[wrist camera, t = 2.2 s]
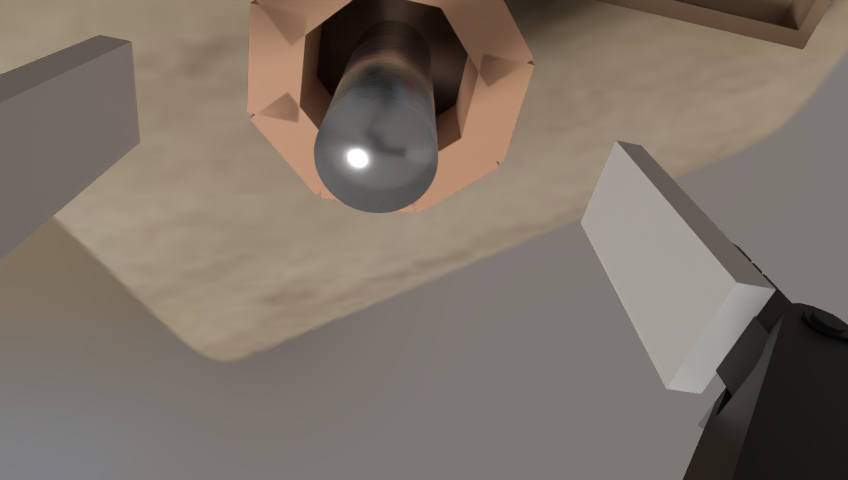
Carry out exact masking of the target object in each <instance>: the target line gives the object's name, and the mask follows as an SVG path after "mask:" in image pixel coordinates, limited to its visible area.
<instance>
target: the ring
mask: <svg viewBox="0 0 848 480" xmlns="http://www.w3.org/2000/svg"><path fill="white" fill-rule="evenodd" d="M351 1H352V0H254V1H253V2H251V3H250V36H249V74H248V111H247V113H250V114H253V115H252V117H251V118H250V120H251V121H252V122H253V123H254V124H255V126H256V127H257V128H258V129H259V130H260V131H261V132H262V134H263V135H264V136H265V137H266V138H267V139H268V140H269V142H270V143H271V144H272V145H273V146H274V147H275V149H276V150H277V151H278V152H279V153H280V154H281V155H282V157H283V158H284V159H285V160H286V161H287V162H288V163H289V165H290V166H291V167H292V168H293V169H294V170H295V172H296V173H297V174H298V175H299V176H300V177H301V178H302V180H303V181H304V182H305V183H306V184H307V185H308V186H309V188H310V189H311V190H312V191H313V192H314V193H315V195H317V194H318V193H320V192H321V191H322V192H321V198H325V199H331V200H336V201H340V200H338V199H337V198H336V197H335V196H333V195H332V194H331V193H330V192H329V190H328V189H327V188H326V187H325V185H324V184H323V182H322V181H321V179H320V177H319V175H318V172H317V170H316V166H315V161H314V145H315V140H316V137H317V134H318V131H319V129H320V127H321V124H322V122H323V120H324V117H325V115H326V113H327V110H328V108H329V106H330V103H331V101H332V99H333V97H332V96H331V95H330V93H329V92H328V91H327V89H326V88H325V87H324V85H323V84H322V83H321V82H320V80H319V79H318V78H317V67H318V57H319V47H320V37H321V26H322V22H324V21H325V20H326V19H328V18H329V17H330V16H332V15H333V14H334V13H336V12H337V11H338V10H340V9H341V8H343V7H344V6H345V5H347V4H348V3H349V2H351ZM409 1H414V2H418V3H423V4H427V5H431V6H436V7H440V8H441V9H442V11H443V12H444V14H445V16H446V17H447V19H448V21H449V22H450V24H451V26H452V28H453V29H454V31H455V33H456V34H457V36H458V38H459V39H460V41H461V43H462V45H463V46H464V48H465V50H466V51H467V53H468V57H467V61H466V65H465V69H464V73H463V77H462V81H461V85H460V89H459V93H458V97H457V101H456V105H455V106H453V107H451V108H450V109H448V110H447V111H445V112H443V113H442V114H440V115H439V116H437V117H435V120H436V133H437V146H438V166H437V172H436V175H435V178H434V180H433V182H432V184H431V186H430V187H429V188H428V190H427V191H426V192H425V193H424V195H423V196H422V197H420V198H419V199H418V200H417V201H415V202H414V203H412V204H411V205H409V206H407V207H405V208H403V209H400V210H397V211H398V212H404V213H410V214H413V212H414V208H415V209H416V211H417V212H418V213H420V212H422V211H423V210H425V209H427V208H429V207H430V206H432V205H434V204H436V203H437V202H439V201H441V200H443V199H444V198H446V197H448V196H450V195H451V194H453V193H455V192H457V191H458V190H460V189H462V188H464V187H465V186H467V185H469V184H471V183H472V182H474V181H476V180H478V179H479V178H481V177H483V176H485V175H486V174H488V173H490V172H492V171H493V170H495V169H497V168H499V163H498V162H504V159H505V156H506V153H507V150H508V146H509V143H510V140H511V137H512V134H513V131H514V128H515V125H516V121H517V118H518V115H519V112H520V109H521V106H522V103H523V100H524V96H525V93H526V90H527V87H528V84H529V81H530V78H531V75H532V71H533V68H534V64H533V62H532V61H531V60H532V59H534V57H533V55H532V54H531V52H530V50H529V48H528V46H527V44H526V42H525V40H524V38H523V36H522V34H521V32H520V31H519V29H518V27H517V25H516V23H515V21H514V19H513V17H512V15H511V13H510V11H509V9H508V8H507V6H506V4H505V2H504V0H409Z"/></svg>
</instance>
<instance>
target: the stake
mask: <svg viewBox="0 0 848 480" xmlns="http://www.w3.org/2000/svg"><path fill="white" fill-rule="evenodd" d="M467 57H468V53H467V51H466V50H465V48H464V46H463V45H462V43H461V41H460V39H459V38H458V36H457V34H456V33H455V31H454V29H453V28H452V26H451V24H450V22H449V21H448V19H447V17H446V16H445V14H444V12H443V11H442V9H441V8H440V7H436V6H431V5H427V4H423V3H418V2H414V1H409V0H352V1H351V2H349V3H348V4H347V5H345V6H344V7H343V8H341V9H340V10H338V11H337V12H336V13H334V14H333V15H332V16H330V17H329V18H328V19H326V20H325V21H324V22H322V26H321V37H320V47H319V57H318V67H317V78H318V79H319V80H320V82H321V83H322V84H323V85H324V87H325V88H326V89H327V91H328V92H329V93H330V95H331V96H332V97H333V99H332V101H331V103H330V106H329V108H328V110H327V113H326V115H325V117H324V120H323V122H322V124H321V127H320V129H319V131H318V134H317V137H316V140H315V145H314V161H315V166H316V170H317V172H318V175H319V177H320V179H321V181H322V182H323V184H324V185H325V187H326V188H327V189H328V190H329V192H330V193H331V194H332V195H333V196H335V197H336V198H337V199H338V200H340V201H341V202H343V203H344V204H346V205H348V206H350V207H352V208H355V209H358V210H361V211H365V212H372V213H386V212H392V211H397V210H400V209H403V208H405V207H407V206H409V205H411V204H412V203H414V202H415V201H417V200H418V199H419V198H420V197H422V196H423V195H424V193H425V192H426V191H427V190H428V188H429V187H430V186H431V184H432V182H433V180H434V178H435V175H436V172H437V166H438V146H437V133H436V120H435V117H437V116H439V115H440V114H442V113H443V112H445V111H447V110H448V109H450V108H451V107H453V106H455V105H456V101H457V97H458V93H459V89H460V85H461V81H462V77H463V73H464V69H465V65H466V61H467Z"/></svg>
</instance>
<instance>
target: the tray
mask: <svg viewBox="0 0 848 480" xmlns="http://www.w3.org/2000/svg"><path fill="white" fill-rule="evenodd" d="M597 1H601V2H606V3H610V4H614V5H618V6H622V7H627V8H631V9H635V10H639V11H643V12H648V13H652V14H656V15H660V16H664V17H669V18H673V19H677V20H681V21H685V22H690V23H694V24H698V25H702V26H707V27H711V28H715V29H719V30H723V31H728V32H732V33H736V34H740V35H744V36H749V37H753V38H757V39H761V40H765V41H770V42H774V43H778V44H782V45H786V46H791V47H795V48H799V49H804V47H805V45H806V43H807V42H808V40H809V38H810V37H811V35H812V33H813V32H814V30H815V28H816V26H817V25H818V23H819V21H820V20H821V18H822V16H823V14H824V13H825V11H826V9H827V8H828V6H829V4H830V3H831V1H832V0H597Z"/></svg>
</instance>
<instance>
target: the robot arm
mask: <svg viewBox="0 0 848 480" xmlns="http://www.w3.org/2000/svg"><path fill="white" fill-rule="evenodd" d="M139 142H140V137H139V126H138V114H137V102H136V91H135V79H134V67H133V56H132V44H131V41H127V40H122V39H117V38H112V37H107V36H102V35H98V36H95V37H93V38H90V39H88V40H85V41H83V42H81V43H78V44H76V45H73V46H71V47H68V48H66V49H63V50H61V51H58V52H56V53H53V54H51V55H48V56H46V57H43V58H41V59H38V60H36V61H33V62H31V63H28V64H26V65H23V66H21V67H18V68H16V69H13V70H11V71H8V72H6V73H3V74H1V75H0V260H1V259H3V258H4V257H5V256H6V255H7V254H8V253H10V252H11V251H12V250H13V249H14V248H15V247H17V246H18V245H19V244H20V243H21V242H23V241H24V240H25V239H26V238H27V237H29V236H30V235H31V234H32V233H33V232H34V231H36V230H37V229H38V228H39V227H40V226H42V224H44V223H45V222H46V221H47V220H49V219H50V218H51V217H52V216H53V215H54V214H56V213H57V212H58V211H59V210H60V209H62V208H63V207H64V206H65V205H66V204H67V203H69V202H70V201H71V200H72V199H73V198H75V197H76V196H77V195H78V194H79V193H80V192H82V191H83V190H84V189H85V188H86V187H88V186H89V185H90V184H91V183H92V182H93V181H95V180H96V179H97V178H98V177H99V176H101V175H102V174H103V173H104V172H105V171H106V170H108V169H109V168H110V167H111V166H112V165H114V164H115V163H116V162H117V161H118V160H119V159H121V158H122V157H123V156H124V155H125V154H127V153H128V152H129V151H130V150H131V149H132V148H134V147H135V146H136V145H137V144H138V143H139ZM581 224H582V226H583V228H584V230H585V232H586V234H587V236H588V238H589V240H590V242H591V244H592V246H593V248H594V249H595V251H596V253H597V255H598V257H599V259H600V261H601V263H602V265H603V267H604V269H605V270H606V273H607V275H608V277H609V279H610V281H611V282H612V284H613V286H614V288H615V290H616V292H617V294H618V296H619V298H620V300H621V302H622V304H623V305H624V307H625V310H626V311H627V313H628V315H629V317H630V319H631V321H632V323H633V325H634V327H635V329H636V331H637V333H638V335H639V336H640V339H641V340H642V342H643V344H644V346H645V348H646V350H647V352H648V354H649V356H650V358H651V360H652V361H653V364H654V366H655V367H656V369H657V371H658V373H659V375H660V377H661V379H662V381H663V383H664V385H665V387H666V389H672V390H679V391H686V392H693V393H700V394H701V393H702V391H703V390H704V389H705V387H706V386H707V384H708V383H709V382H710V380H711V379H712V378H713V376H714V375H715V373H716V372H717V373H718V375H719V376H720V378H721V379H722V381H723V383H724V384H725V386H726V388H725V389H724V391H723V392H722V393H721V395H720V396H719V398H718V399H717V400H716V401H715V403H714V404H713V405H712V407H711V408H710V409H709V411H708V412H707V413H706V415H705V416H704V418H703V419H702V420H701V421H700V423H699V424H698V426H700V427H701V428H704V427H705V428H704V430H703V433H702V435H701V438H700V440H699V442H698V445H697V447H696V449H695V452H694V454H693V457H692V459H691V461H690V464H689V466H688V468H687V471H686V473H685V476H684V478H683V480H848V325H847V324H846V323H845V322H843V321H842V320H840V319H839V318H838V317H836V316H834V315H833V314H830V313H828V312H826V311H823V310H821V309H818V308H816V307H814V306H810V305H805V304H801V303H791V302H790V301H789V300H788V299H787V298H786V297H785V295H784V294H783V293H782V292H781V291H780V290H779V289H778V288H777V287H776V286H775V285H774V284H773V283H772V282H771V281H770V280H769V279H768V278H767V276H766V275H764V274H762V271H761V270H760V269H759V268H758V267H757V266H756V265H755V264H754V263H751V260H750V258H749V257H747V255H746V254H745V253H744V252H743V251H742V250H741V249H740V248H739V247H738V246H736V245H735V244H733V243H732V242H731V241H730V240H729V239H728V238H727V237H726V236H725V235H724V234H723V233H722V231H720V229H719V228H718V227H717V226H716V225H715V224H714V223H713V222H712V221H711V220H710V219H709V218H708V216H707V215H706V214H705V213H704V212H703V211H702V210H701V209H700V208H699V207H698V206H697V205H696V204H695V203H694V202H693V200H692V199H691V198H690V197H689V196H688V195H687V194H686V193H685V192H684V191H683V190H682V189H681V188H680V187H679V186H678V185H677V183H676V182H675V181H674V180H673V179H672V178H671V177H670V176H669V175H668V174H667V173H666V172H665V171H664V170H663V168H662V167H661V166H660V165H659V164H658V163H657V162H656V161H655V160H654V159H653V158H652V157H651V156H650V155H649V154H648V152H647V151H646V150H645V149H644V148H643V147H642V146H640V145H636V144H631V143H626V142H621V141H615V144H614V146H613V148H612V151H611V153H610V155H609V158H608V160H607V162H606V165H605V167H604V169H603V172H602V174H601V176H600V179H599V181H598V183H597V186H596V188H595V190H594V193H593V195H592V197H591V199H590V202H589V204H588V206H587V209H586V211H585V213H584V216H583V218H582V220H581Z"/></svg>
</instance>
